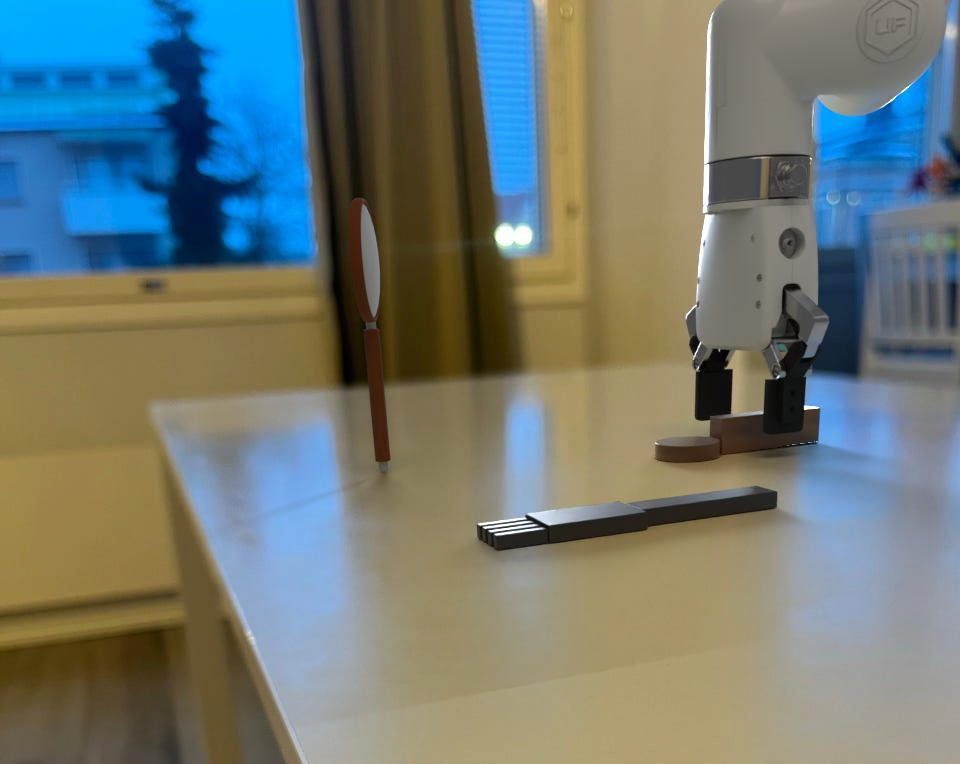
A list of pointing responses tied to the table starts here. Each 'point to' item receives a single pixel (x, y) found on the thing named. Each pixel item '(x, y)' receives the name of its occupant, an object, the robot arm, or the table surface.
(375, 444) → the magnifying glass
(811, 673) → the table surface
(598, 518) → the fork
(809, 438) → the brown disc and block
